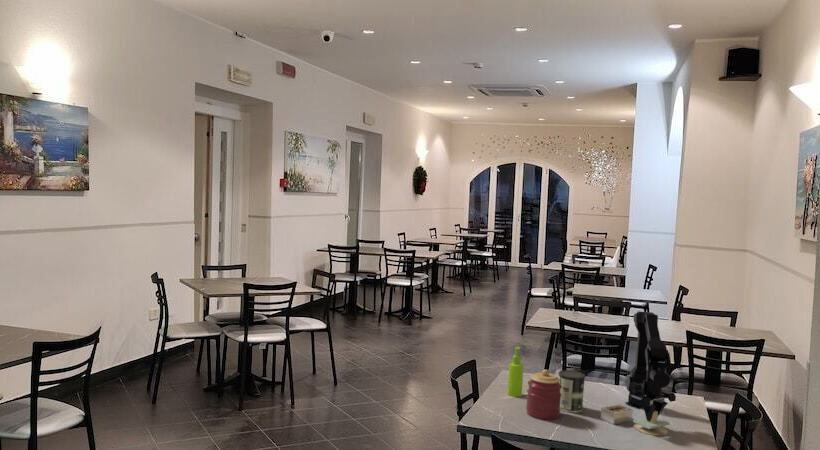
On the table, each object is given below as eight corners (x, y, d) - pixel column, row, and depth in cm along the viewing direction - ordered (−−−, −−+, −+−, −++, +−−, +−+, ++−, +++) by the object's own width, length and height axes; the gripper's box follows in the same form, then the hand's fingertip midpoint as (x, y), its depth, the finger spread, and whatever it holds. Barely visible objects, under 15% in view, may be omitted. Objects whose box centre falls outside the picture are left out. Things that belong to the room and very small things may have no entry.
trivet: (648, 421, 246) (648, 420, 246) (675, 432, 236) (675, 431, 236) (626, 425, 240) (626, 424, 240) (653, 437, 230) (653, 436, 230)
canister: (562, 412, 251) (566, 368, 250) (555, 422, 239) (559, 376, 238) (530, 406, 256) (533, 362, 255) (521, 415, 245) (524, 370, 244)
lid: (652, 419, 244) (653, 405, 243) (669, 426, 237) (670, 412, 237) (632, 424, 238) (633, 409, 238) (649, 431, 232) (650, 416, 231)
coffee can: (581, 405, 260) (584, 371, 259) (583, 414, 250) (585, 379, 249) (555, 402, 262) (558, 368, 261) (556, 411, 252) (558, 376, 251)
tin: (618, 415, 251) (619, 404, 251) (631, 421, 245) (632, 409, 245) (600, 418, 246) (601, 407, 246) (613, 424, 240) (614, 413, 240)
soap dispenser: (522, 392, 273) (526, 346, 271) (520, 397, 266) (523, 350, 265) (509, 390, 274) (512, 345, 273) (506, 395, 268) (509, 348, 267)
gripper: (653, 370, 248) (650, 409, 249) (620, 375, 239) (616, 416, 240) (678, 379, 239) (674, 419, 240) (644, 384, 229) (641, 427, 230)
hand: (651, 420), depth 238 cm, fingers closed on lid, 3 cm apart
